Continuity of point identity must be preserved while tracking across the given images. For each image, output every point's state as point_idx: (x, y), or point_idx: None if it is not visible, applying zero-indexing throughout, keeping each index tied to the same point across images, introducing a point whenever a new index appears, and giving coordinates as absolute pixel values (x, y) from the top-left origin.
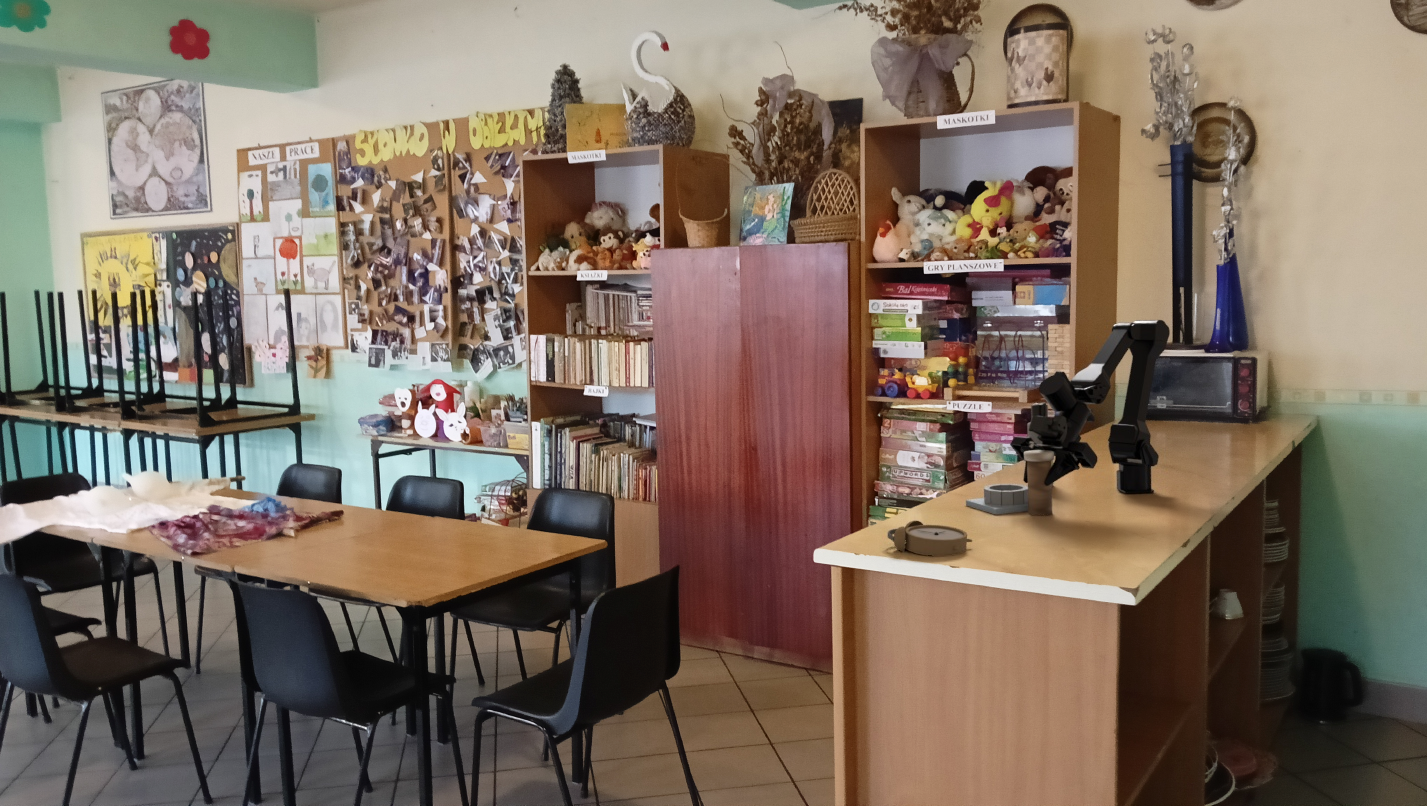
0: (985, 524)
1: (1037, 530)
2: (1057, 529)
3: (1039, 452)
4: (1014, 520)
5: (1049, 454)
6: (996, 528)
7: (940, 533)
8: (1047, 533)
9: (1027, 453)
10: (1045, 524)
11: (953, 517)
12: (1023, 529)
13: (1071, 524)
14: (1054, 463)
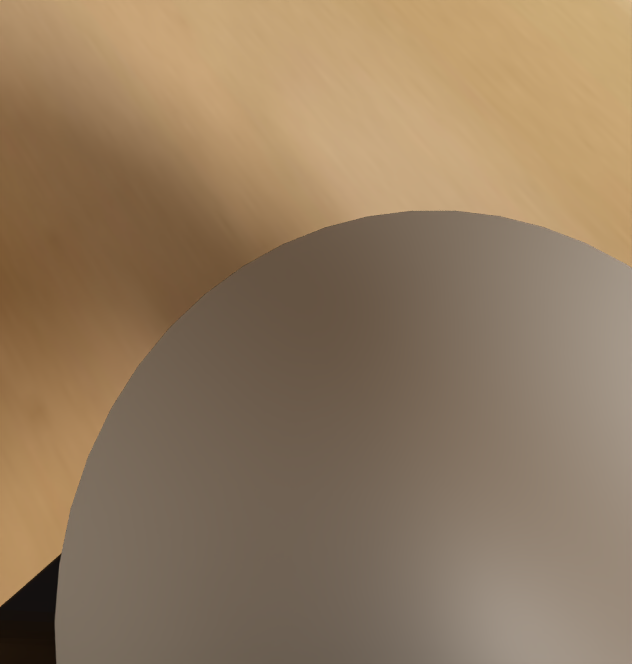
0: (375, 87)
1: (127, 117)
2: (65, 180)
3: (410, 538)
4: (330, 222)
5: (82, 500)
6: (289, 54)
7: None
8: (61, 95)
9: (536, 242)
10: (165, 234)
11: (579, 119)
12: (187, 100)
13: (65, 304)
14: None
